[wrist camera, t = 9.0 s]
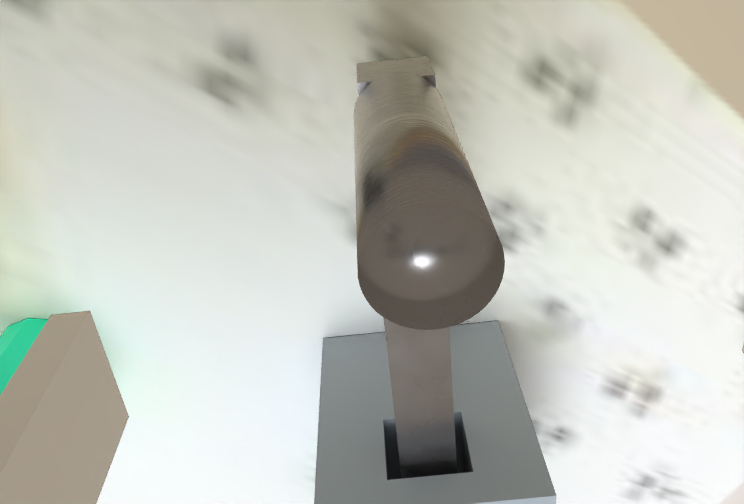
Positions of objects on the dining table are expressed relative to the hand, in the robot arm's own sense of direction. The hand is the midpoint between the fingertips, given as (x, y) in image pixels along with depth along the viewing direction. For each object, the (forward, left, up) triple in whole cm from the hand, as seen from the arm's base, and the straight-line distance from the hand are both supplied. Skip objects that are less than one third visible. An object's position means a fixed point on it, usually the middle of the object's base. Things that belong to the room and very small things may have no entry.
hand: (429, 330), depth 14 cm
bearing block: (+25, 0, -27) cm, 37 cm away
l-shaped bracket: (+14, 0, -18) cm, 23 cm away
